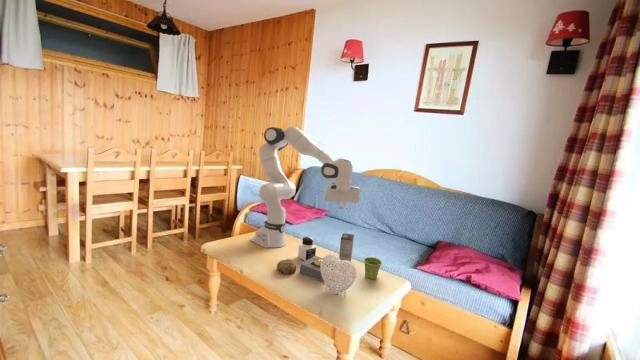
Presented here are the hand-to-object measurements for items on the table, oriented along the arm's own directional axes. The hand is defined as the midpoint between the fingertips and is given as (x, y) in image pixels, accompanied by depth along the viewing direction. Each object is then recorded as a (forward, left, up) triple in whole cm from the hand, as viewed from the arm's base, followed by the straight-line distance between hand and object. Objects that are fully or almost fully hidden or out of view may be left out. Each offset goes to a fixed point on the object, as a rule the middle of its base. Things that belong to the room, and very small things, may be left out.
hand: (340, 209), depth 184 cm
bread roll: (-8, -38, -28) cm, 48 cm away
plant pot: (+28, -13, -28) cm, 42 cm away
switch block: (+5, -28, -28) cm, 40 cm away
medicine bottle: (-10, -17, -28) cm, 34 cm away
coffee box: (+10, -8, -28) cm, 31 cm away
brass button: (+5, -28, -24) cm, 38 cm away
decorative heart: (+22, -41, -28) cm, 54 cm away
